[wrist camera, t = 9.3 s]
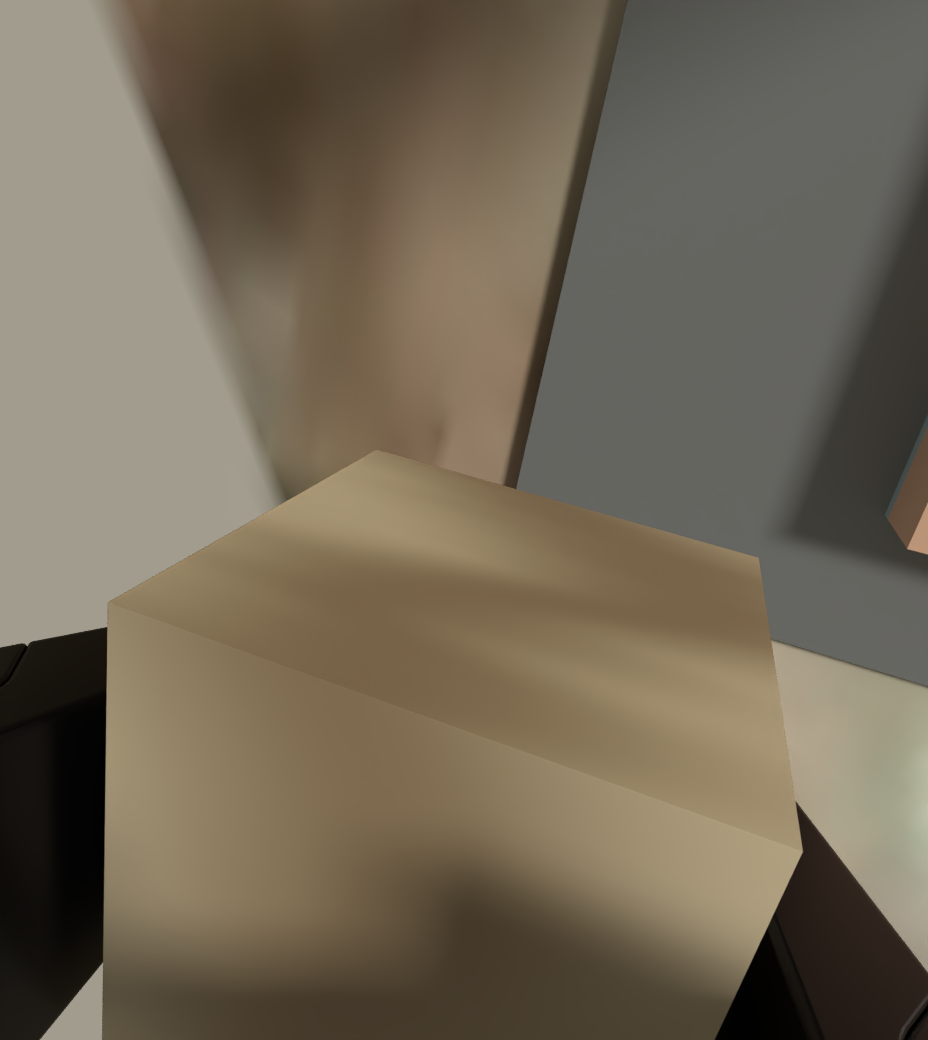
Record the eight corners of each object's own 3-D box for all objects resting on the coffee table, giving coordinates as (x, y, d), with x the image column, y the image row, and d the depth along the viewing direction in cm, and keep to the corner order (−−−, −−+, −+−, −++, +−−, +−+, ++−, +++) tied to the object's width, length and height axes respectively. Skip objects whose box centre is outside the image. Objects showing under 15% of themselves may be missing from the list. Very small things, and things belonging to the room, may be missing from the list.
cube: (757, 558, 8) (803, 852, 4) (644, 867, 10) (595, 1292, 6) (376, 449, 9) (108, 602, 5) (331, 748, 11) (100, 1043, 7)
